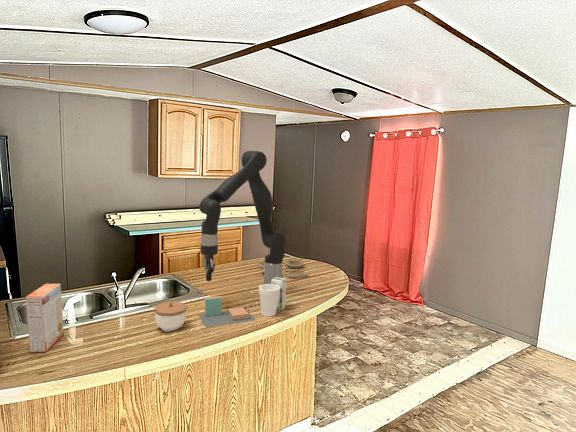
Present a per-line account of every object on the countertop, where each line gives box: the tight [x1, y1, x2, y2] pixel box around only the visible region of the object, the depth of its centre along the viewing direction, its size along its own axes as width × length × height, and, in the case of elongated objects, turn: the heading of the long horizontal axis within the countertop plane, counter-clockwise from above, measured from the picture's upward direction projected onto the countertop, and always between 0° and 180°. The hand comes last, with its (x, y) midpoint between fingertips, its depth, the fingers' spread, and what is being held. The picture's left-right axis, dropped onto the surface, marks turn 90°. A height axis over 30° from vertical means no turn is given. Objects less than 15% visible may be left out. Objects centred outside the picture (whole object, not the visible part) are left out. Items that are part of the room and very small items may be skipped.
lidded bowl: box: [153, 301, 188, 333], centre depth 166 cm, size 13×13×11 cm
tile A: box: [227, 306, 249, 321], centre depth 180 cm, size 7×2×8 cm
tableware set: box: [257, 259, 309, 279], centre depth 255 cm, size 35×29×4 cm
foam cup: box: [258, 283, 280, 317], centre depth 184 cm, size 10×9×13 cm
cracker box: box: [25, 283, 65, 353], centre depth 148 cm, size 14×6×21 cm, turn 5°
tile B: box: [203, 295, 222, 317], centre depth 180 cm, size 7×2×8 cm, turn 114°
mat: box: [197, 308, 256, 328], centre depth 178 cm, size 22×14×1 cm, turn 114°
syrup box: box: [271, 277, 287, 312], centre depth 192 cm, size 6×6×14 cm
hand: (208, 280), depth 186 cm, fingers closed
